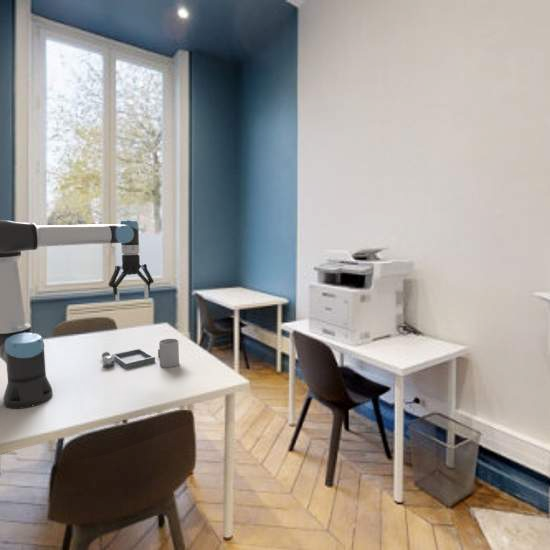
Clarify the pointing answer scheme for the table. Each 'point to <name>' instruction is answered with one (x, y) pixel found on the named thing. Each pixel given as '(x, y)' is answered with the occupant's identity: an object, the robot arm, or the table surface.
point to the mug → (169, 353)
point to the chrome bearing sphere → (108, 361)
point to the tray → (133, 358)
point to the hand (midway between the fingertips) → (132, 300)
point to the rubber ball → (105, 354)
